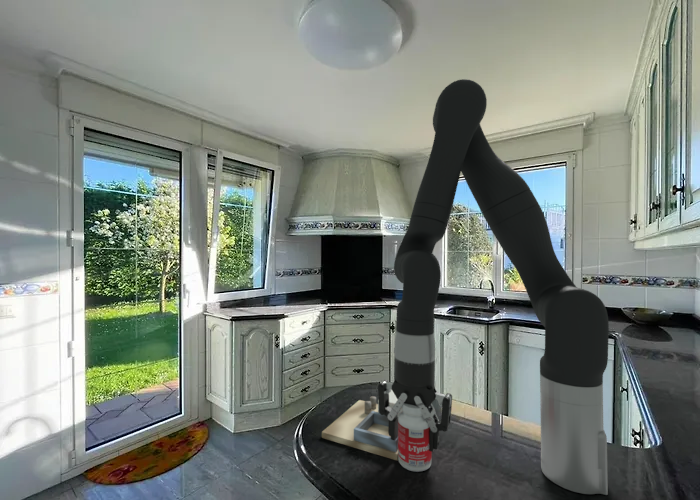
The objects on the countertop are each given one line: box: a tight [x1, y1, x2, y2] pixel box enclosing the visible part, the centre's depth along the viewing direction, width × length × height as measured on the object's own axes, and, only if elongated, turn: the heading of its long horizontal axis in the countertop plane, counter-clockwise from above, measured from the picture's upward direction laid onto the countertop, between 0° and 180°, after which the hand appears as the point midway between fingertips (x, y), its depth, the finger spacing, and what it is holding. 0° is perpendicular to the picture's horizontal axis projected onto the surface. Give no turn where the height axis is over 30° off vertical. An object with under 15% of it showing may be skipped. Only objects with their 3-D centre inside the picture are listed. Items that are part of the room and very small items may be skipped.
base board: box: [321, 395, 399, 462], centre depth 75 cm, size 17×18×4 cm
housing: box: [377, 389, 403, 417], centre depth 78 cm, size 7×7×4 cm
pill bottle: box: [398, 403, 433, 473], centre depth 62 cm, size 6×6×11 cm
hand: (413, 443), depth 63 cm, fingers open, 7 cm apart
